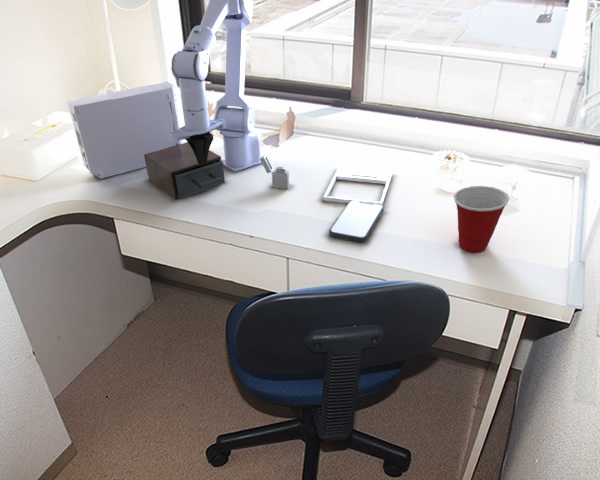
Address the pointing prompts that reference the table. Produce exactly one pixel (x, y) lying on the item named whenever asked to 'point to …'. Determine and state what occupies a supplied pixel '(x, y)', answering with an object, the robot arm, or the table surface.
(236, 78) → the robot arm
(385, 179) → the photo frame
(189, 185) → the drawer
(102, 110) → the game console
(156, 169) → the cabinet
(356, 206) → the smartphone
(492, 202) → the plastic cup
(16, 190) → the table surface
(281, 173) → the lighter
